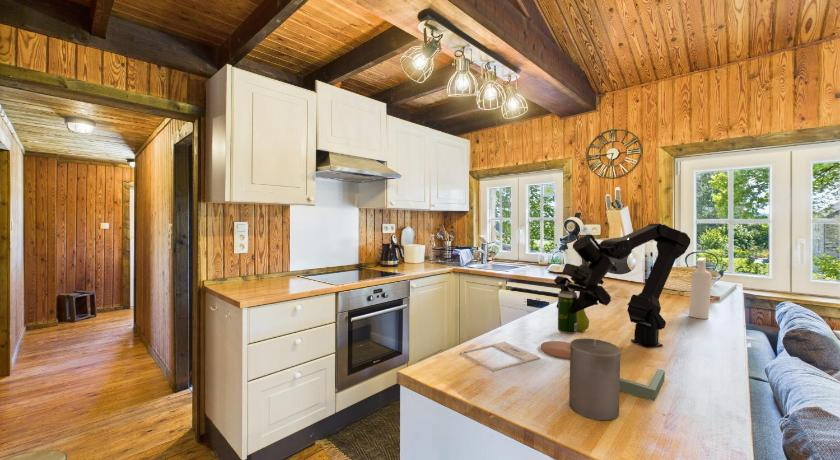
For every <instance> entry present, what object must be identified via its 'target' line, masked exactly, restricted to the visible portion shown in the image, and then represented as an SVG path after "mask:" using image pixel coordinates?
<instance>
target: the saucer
mask: <svg viewBox="0 0 840 460" xmlns="http://www.w3.org/2000/svg"><path fill="white" fill-rule="evenodd" d="M570 349H571V342H567V341H561V340H560V341H559V340H551V341H545V342H542V343H541V344H540V350H541V352H543V353H544V354H545V355H549V356H550V357H554V358H558V359H561V360H570Z"/></svg>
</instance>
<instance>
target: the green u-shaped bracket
mask: <svg viewBox="0 0 840 460" xmlns="http://www.w3.org/2000/svg"><path fill="white" fill-rule="evenodd" d="M656 369H657V370H656V371H655V373H654V375H653V377H652V378H651V381H650V382H649V384H648V385H647V384H644V383H639V382H636V381H633V380H629V379H626V378H622V377H620V392H623V393H626V394H629V395H632V396H636V397H639V398H642V399H646V400H649V401H652V402H656V399H657V397H658V396H659V393H660V391H661V389H662V386H663V384H664V382H665V375H666V374H665V373H666V371H665V370H664V369H659V368H656Z"/></svg>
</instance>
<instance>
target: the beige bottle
mask: <svg viewBox="0 0 840 460" xmlns="http://www.w3.org/2000/svg"><path fill="white" fill-rule="evenodd" d="M696 263H697V268H696V269H695V270H693V271H692V272H691V281H690V292H689V307H688V316H689V317H692V318H697V319H700V320H701V319H702V320H704V319H705V320H707V319H709V317H710V315H709V314H710V302H711V291H712V290H711V289H712V279H713V278H712V277H713V276H712V273H711V272H709V271H708V270H707V266H706V263H707V258H706V257H699V258H697V259H696Z"/></svg>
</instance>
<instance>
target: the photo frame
mask: <svg viewBox="0 0 840 460" xmlns="http://www.w3.org/2000/svg"><path fill="white" fill-rule="evenodd" d="M489 348H496V349H498V350H500V351H501V352H504V353H506V354H508V355H510V356H513V357H515V358H517V359H519V360H520V361H518V362H514V363H509V364H507V365H503V366H499V367H496V368H492V367H491V366H490V365H488V364H486V363H483V362H482V361H480V360H479V359H477V358H474V357H473V356H472V355H469V354H468V353H472V352H473V353H474V352H476V351H482V350H484V349H489ZM459 354H460V355H462V356H464V357H466V358H467V359H469V360H471V361H473V362H475V363H476V364H477V365H480V366H481V367H484V368H485V369H487V370H489V371H490V372H493V373H495V372H498V371H502V370H507V369H509V368H514V367H516V366H520V365H523V364H524V365H525V364H527V363H528V364H529V363H532V362H535V361H537V360H541V357H540V356H538V355H537V354H533V353H532V352H530V351H527V350H524V349H522V348H520V347H518V346H515V345H513V344H511V343H509V342H506V341H502V342H498V343H497V342H496V343H493V344H488V345H484V346H480V347H476V348H475V347H474V348H471V349H466V350H463V351H460V352H459Z"/></svg>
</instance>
